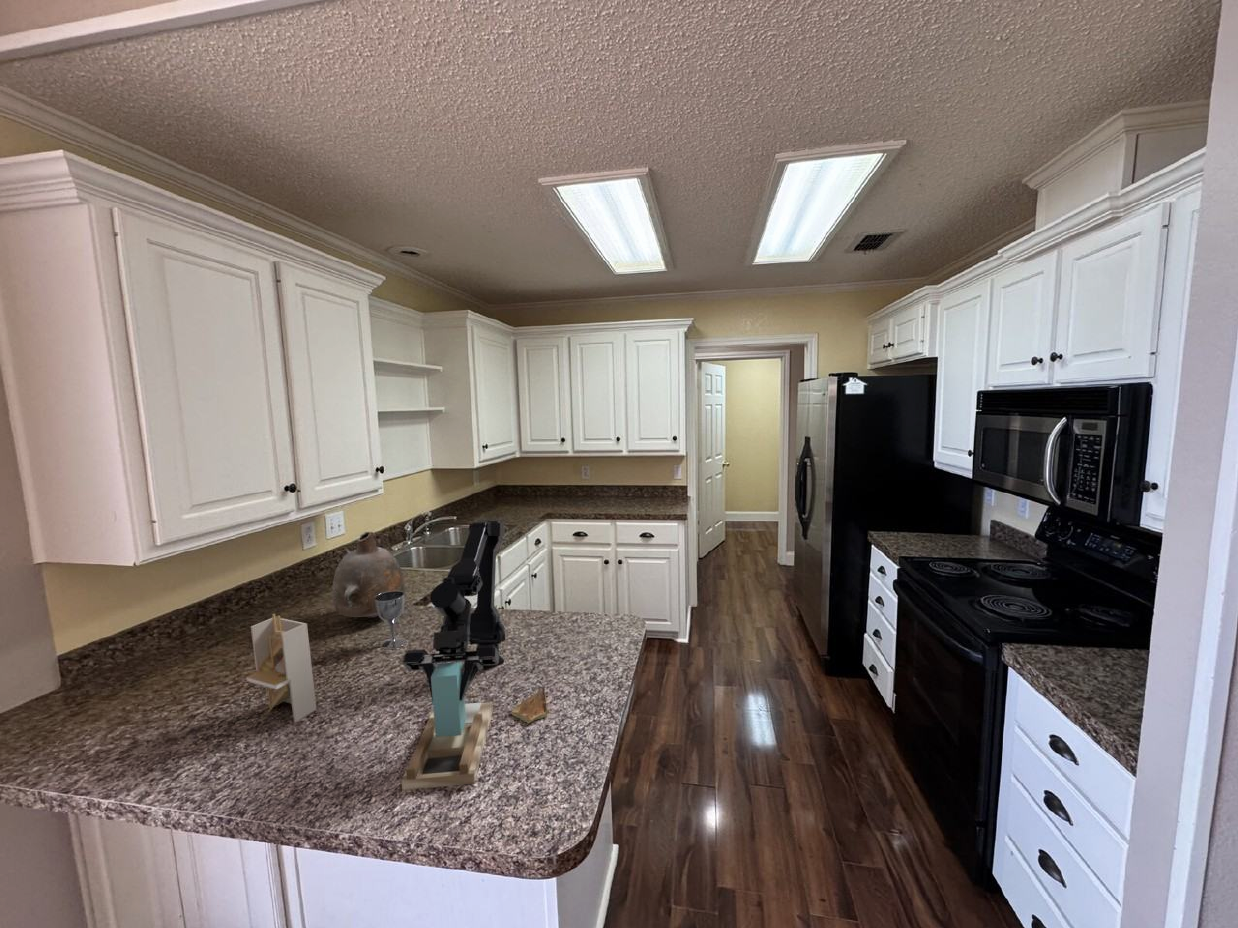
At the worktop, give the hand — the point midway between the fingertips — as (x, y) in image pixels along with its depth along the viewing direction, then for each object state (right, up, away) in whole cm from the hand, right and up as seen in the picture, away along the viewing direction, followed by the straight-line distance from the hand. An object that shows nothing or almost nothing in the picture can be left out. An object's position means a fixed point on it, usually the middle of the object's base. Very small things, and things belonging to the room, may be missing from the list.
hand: (447, 701), depth 98 cm
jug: (-48, -4, +66) cm, 82 cm away
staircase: (-43, -11, +16) cm, 47 cm away
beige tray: (0, -11, +3) cm, 11 cm away
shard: (+14, -10, +15) cm, 22 cm away
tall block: (0, -7, +2) cm, 7 cm away
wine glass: (-33, -6, +47) cm, 58 cm away
